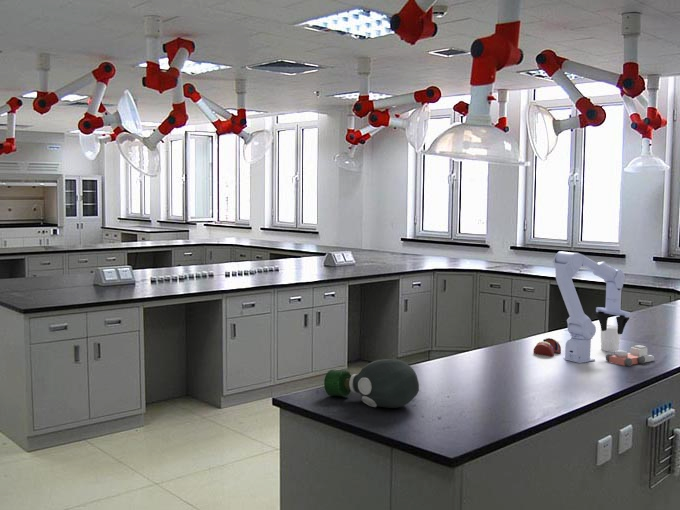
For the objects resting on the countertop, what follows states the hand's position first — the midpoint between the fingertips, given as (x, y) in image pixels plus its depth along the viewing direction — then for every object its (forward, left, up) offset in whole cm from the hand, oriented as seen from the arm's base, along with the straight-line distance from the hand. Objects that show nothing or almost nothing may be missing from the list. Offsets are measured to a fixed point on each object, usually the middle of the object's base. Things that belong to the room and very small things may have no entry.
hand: (611, 332), depth 278 cm
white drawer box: (+4, -10, -10) cm, 14 cm away
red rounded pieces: (-19, +17, -10) cm, 27 cm away
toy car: (0, -9, -10) cm, 14 cm away
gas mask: (-119, -4, -10) cm, 120 cm away
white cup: (+10, +8, -10) cm, 16 cm away
